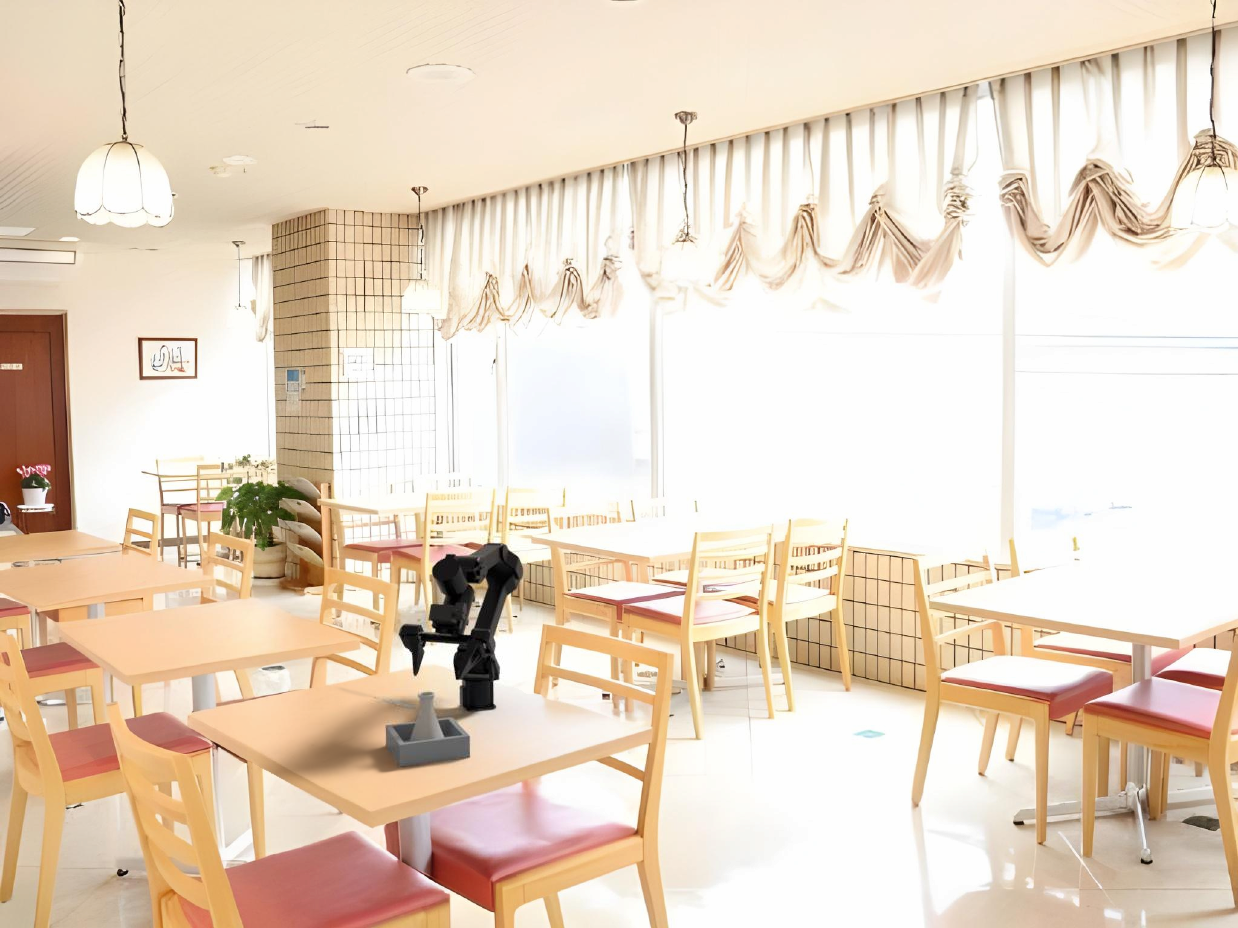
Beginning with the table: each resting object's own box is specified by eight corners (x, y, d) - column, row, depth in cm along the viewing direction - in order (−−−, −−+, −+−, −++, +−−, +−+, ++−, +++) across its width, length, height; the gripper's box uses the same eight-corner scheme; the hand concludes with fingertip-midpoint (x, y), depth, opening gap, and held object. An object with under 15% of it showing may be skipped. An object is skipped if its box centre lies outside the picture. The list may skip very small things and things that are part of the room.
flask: (440, 737, 203) (439, 686, 203) (451, 748, 197) (450, 695, 196) (403, 742, 200) (402, 691, 200) (413, 753, 194) (412, 700, 193)
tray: (452, 736, 207) (452, 717, 207) (470, 756, 195) (469, 735, 195) (386, 745, 202) (385, 725, 201) (400, 766, 190) (399, 744, 189)
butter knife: (406, 708, 226) (417, 704, 229) (330, 689, 243) (341, 685, 246) (407, 711, 226) (417, 706, 229) (331, 691, 243) (341, 687, 246)
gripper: (402, 584, 210) (380, 652, 200) (492, 589, 207) (474, 658, 197) (416, 614, 218) (395, 681, 208) (502, 619, 215) (486, 687, 205)
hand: (437, 676), depth 204 cm, fingers open, 9 cm apart
